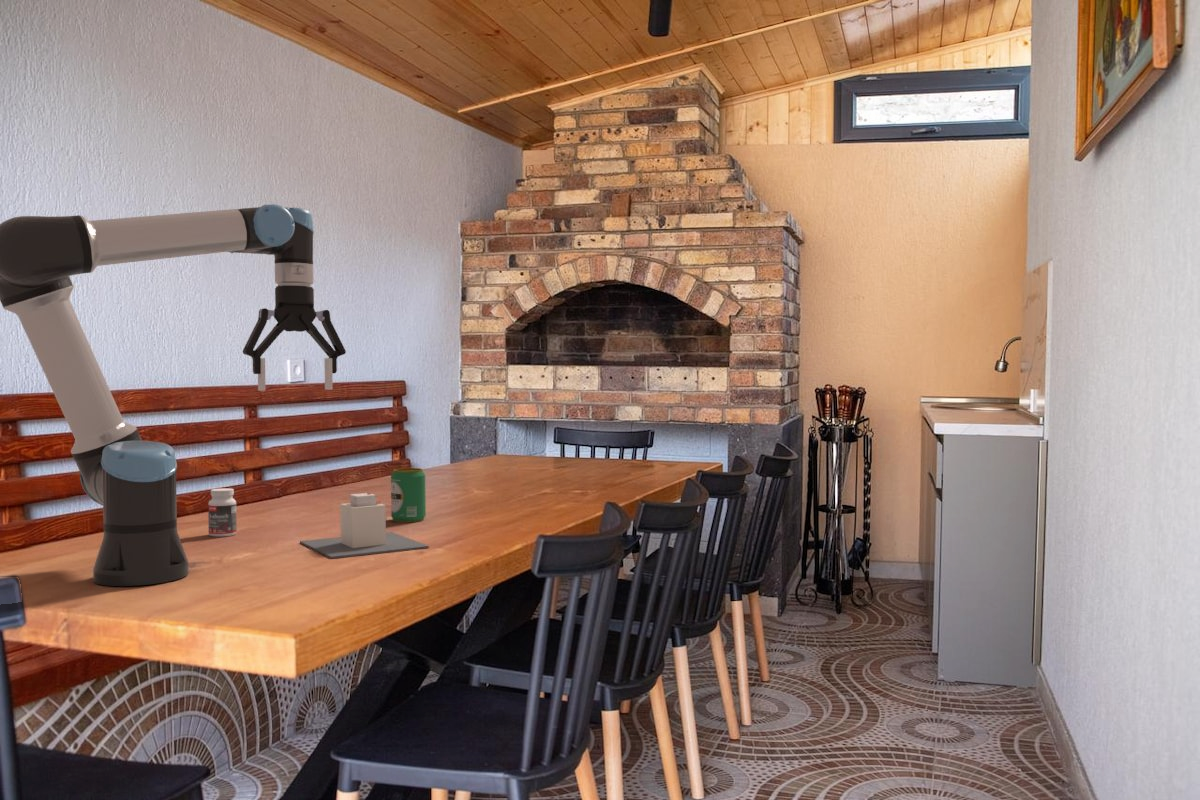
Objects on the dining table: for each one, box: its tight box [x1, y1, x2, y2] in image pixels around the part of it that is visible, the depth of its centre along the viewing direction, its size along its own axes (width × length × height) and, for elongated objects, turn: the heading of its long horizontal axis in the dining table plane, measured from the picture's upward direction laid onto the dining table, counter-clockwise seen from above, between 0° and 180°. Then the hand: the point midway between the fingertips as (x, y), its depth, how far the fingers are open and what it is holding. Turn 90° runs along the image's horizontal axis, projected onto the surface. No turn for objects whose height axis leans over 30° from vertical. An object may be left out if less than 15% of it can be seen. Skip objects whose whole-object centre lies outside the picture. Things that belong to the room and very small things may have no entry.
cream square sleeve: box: [339, 499, 387, 548], centre depth 206 cm, size 7×7×8 cm
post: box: [299, 492, 430, 559], centre depth 206 cm, size 20×20×11 cm
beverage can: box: [390, 467, 427, 523], centre depth 239 cm, size 8×8×12 cm
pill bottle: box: [207, 487, 238, 538], centre depth 219 cm, size 6×6×10 cm
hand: (295, 390), depth 206 cm, fingers open, 13 cm apart
